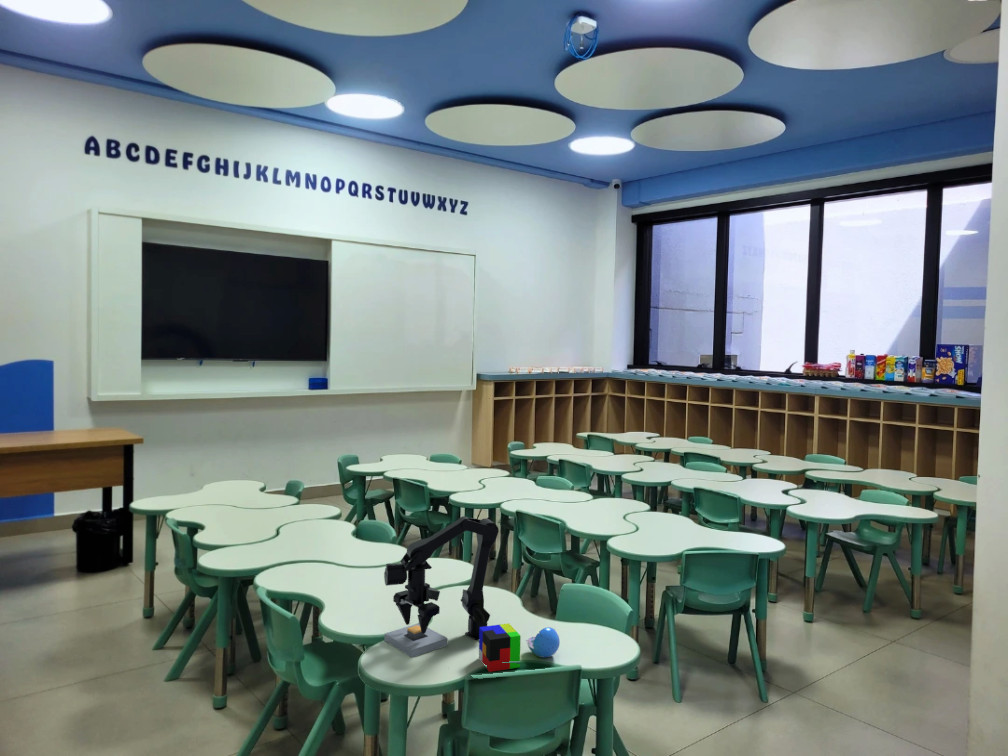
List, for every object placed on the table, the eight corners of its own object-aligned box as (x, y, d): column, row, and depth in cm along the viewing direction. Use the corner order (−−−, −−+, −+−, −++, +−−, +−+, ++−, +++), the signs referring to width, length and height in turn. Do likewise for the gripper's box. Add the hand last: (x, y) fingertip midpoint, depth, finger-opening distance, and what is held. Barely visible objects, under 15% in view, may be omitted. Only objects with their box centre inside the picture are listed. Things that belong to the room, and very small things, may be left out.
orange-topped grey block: (424, 643, 232) (424, 628, 232) (414, 647, 229) (414, 632, 229) (417, 639, 235) (417, 625, 235) (407, 643, 232) (407, 628, 232)
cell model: (543, 645, 233) (544, 616, 232) (566, 659, 222) (566, 629, 222) (518, 651, 227) (519, 622, 227) (540, 666, 217) (541, 636, 217)
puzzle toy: (478, 658, 222) (479, 627, 222) (508, 653, 226) (508, 623, 225) (489, 672, 213) (489, 639, 212) (519, 667, 216) (520, 635, 216)
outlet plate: (447, 645, 231) (447, 638, 231) (411, 657, 221) (412, 649, 221) (419, 630, 243) (419, 623, 242) (384, 640, 233) (384, 633, 233)
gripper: (453, 584, 229) (452, 631, 230) (420, 570, 243) (419, 614, 244) (425, 592, 222) (424, 640, 223) (392, 576, 236) (392, 622, 236)
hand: (415, 628), depth 232 cm, fingers open, 9 cm apart
